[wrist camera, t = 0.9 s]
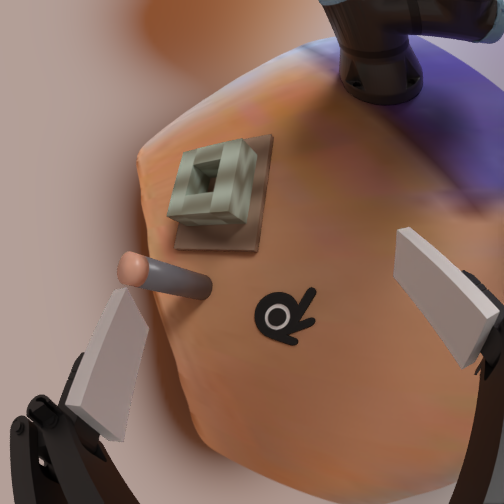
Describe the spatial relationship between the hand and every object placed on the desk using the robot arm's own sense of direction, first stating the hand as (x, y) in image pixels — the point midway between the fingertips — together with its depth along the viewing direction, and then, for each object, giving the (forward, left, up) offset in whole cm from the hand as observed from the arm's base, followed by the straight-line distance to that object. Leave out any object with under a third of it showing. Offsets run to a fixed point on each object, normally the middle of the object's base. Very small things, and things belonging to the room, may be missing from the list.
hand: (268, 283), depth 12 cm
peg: (-1, -22, -23) cm, 32 cm away
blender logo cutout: (0, -5, -24) cm, 24 cm away
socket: (-17, -21, -23) cm, 36 cm away
